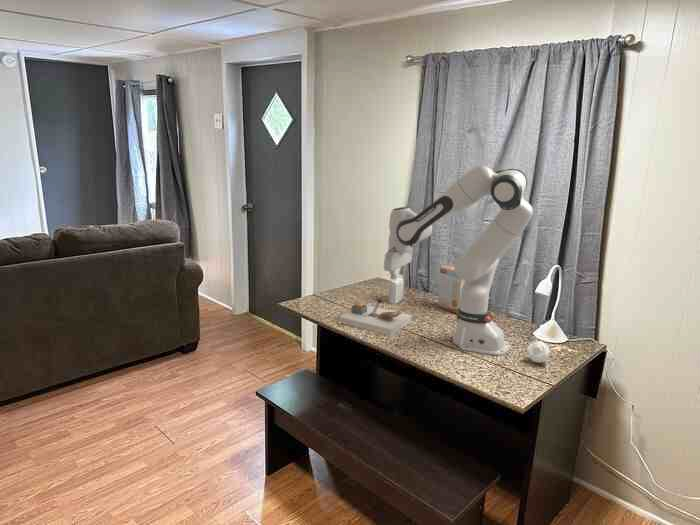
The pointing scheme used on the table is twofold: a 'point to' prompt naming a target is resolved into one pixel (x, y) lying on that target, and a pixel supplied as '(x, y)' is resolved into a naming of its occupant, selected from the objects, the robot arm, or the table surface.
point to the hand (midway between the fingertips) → (397, 276)
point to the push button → (359, 304)
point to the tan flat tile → (389, 314)
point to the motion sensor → (538, 352)
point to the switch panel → (374, 320)
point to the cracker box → (449, 289)
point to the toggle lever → (377, 306)
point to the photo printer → (396, 290)
